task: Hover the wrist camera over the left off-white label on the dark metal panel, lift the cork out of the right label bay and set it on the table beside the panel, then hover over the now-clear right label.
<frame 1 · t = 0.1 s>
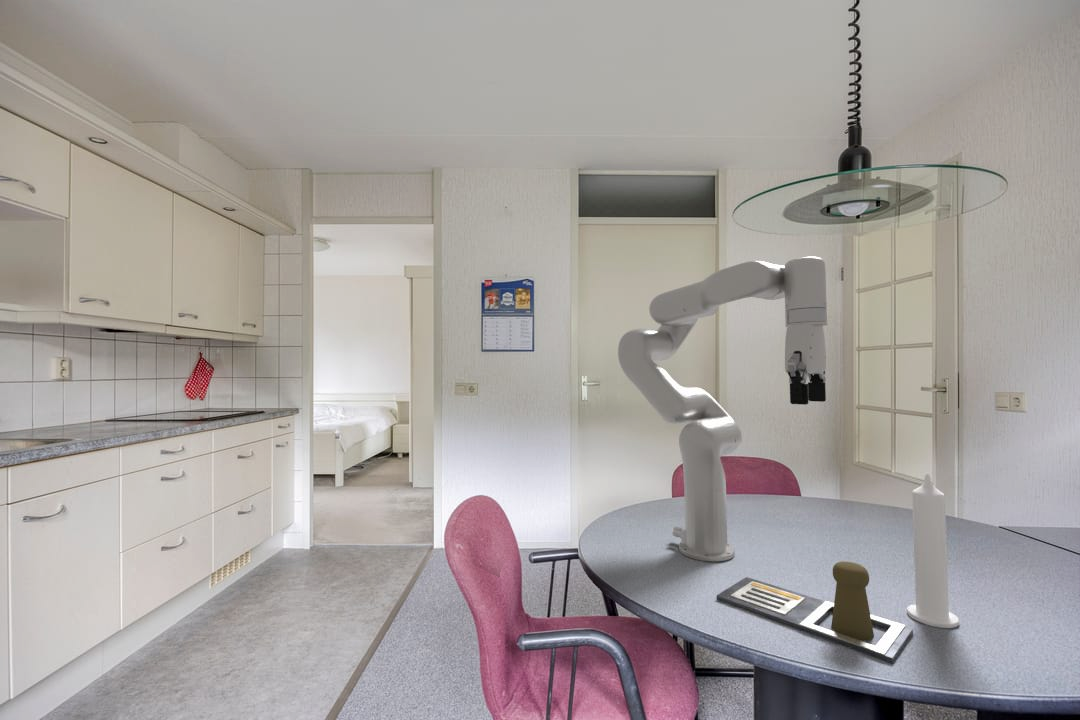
hand: (808, 402, 101), 37 cm above the table, tool pointing down, fingers open, 9 cm apart
cork: (852, 631, 82), resting in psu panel
candle: (932, 619, 86), on the table
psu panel: (807, 615, 87), on the table
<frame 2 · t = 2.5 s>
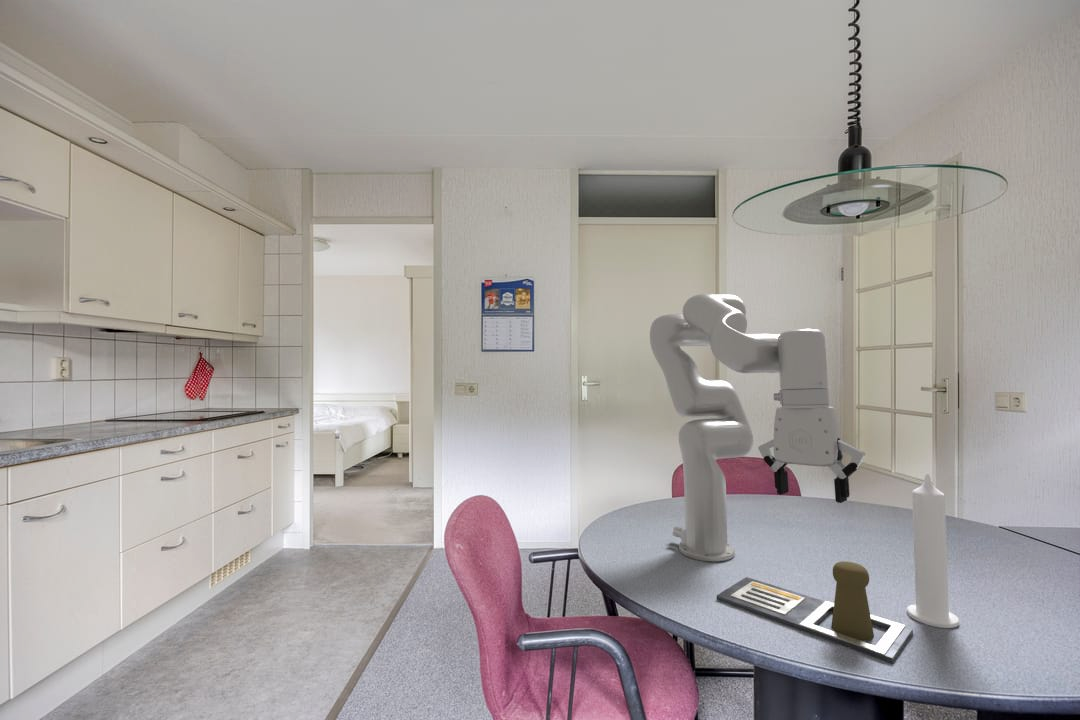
hand: (811, 497, 86), 21 cm above the table, tool pointing down, fingers open, 9 cm apart
nothing on the table moved.
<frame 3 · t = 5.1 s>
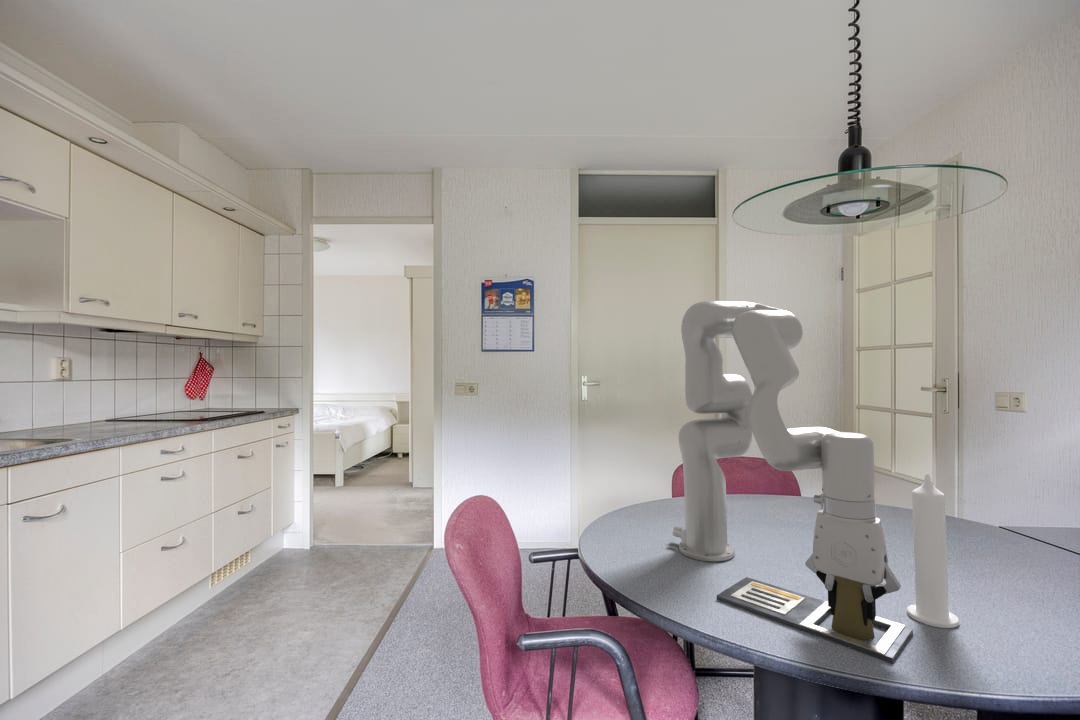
hand: (851, 616, 82), 2 cm above the table, tool pointing down, fingers closed on cork, 3 cm apart
cork: (852, 631, 82), resting in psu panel, touching gripper
everything else where it was.
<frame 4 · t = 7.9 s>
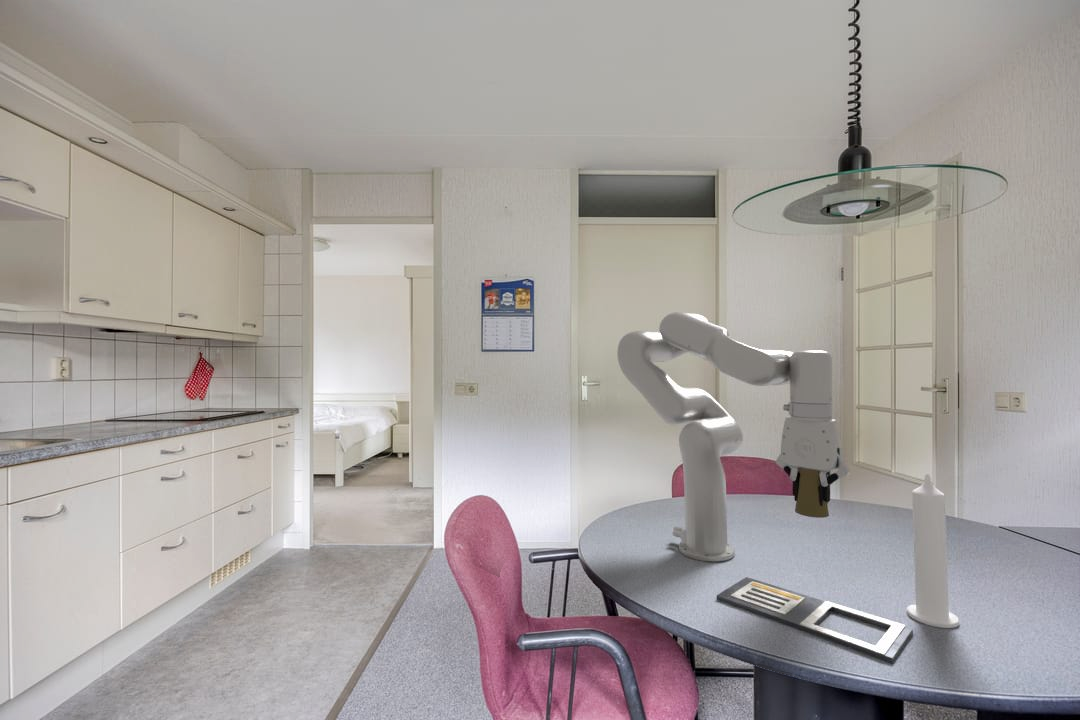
hand: (811, 501, 100), 17 cm above the table, tool pointing down, fingers closed on cork, 3 cm apart
cork: (811, 513, 100), point 14 cm above the table, touching gripper
everything else where it was.
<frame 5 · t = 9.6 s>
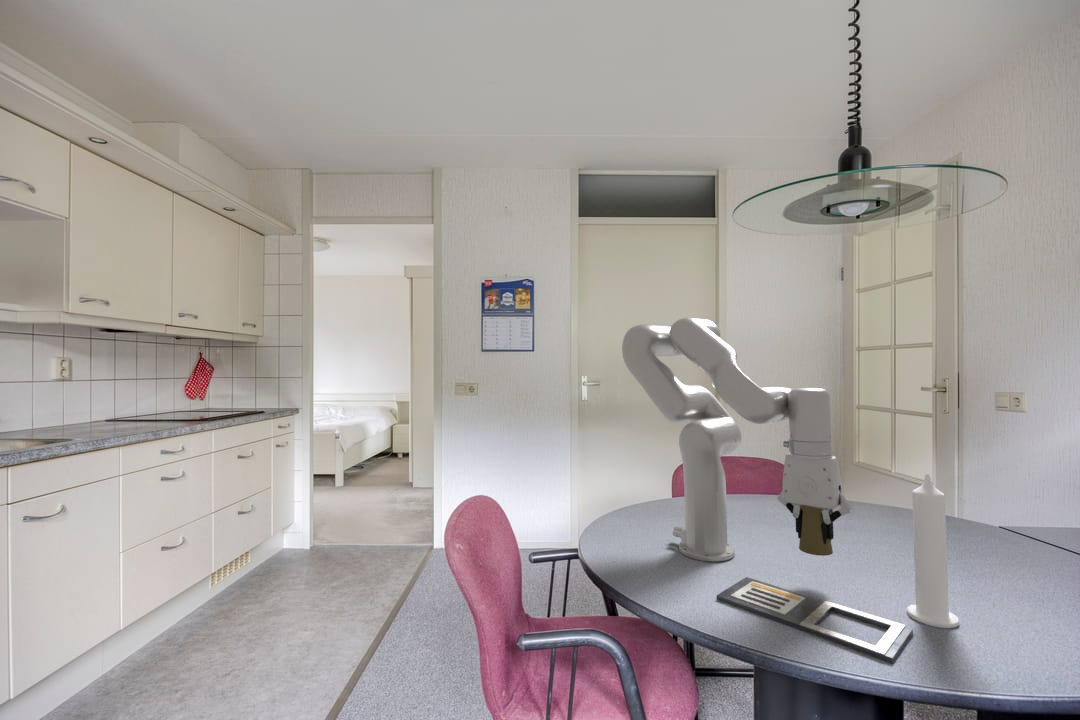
hand: (814, 538, 100), 9 cm above the table, tool pointing down, fingers closed on cork, 3 cm apart
cork: (815, 551, 100), point 7 cm above the table, touching gripper
everything else where it was.
when the fingers open (4 cm above the table, at t = 10.9 s): cork drops 1 cm, on the table.
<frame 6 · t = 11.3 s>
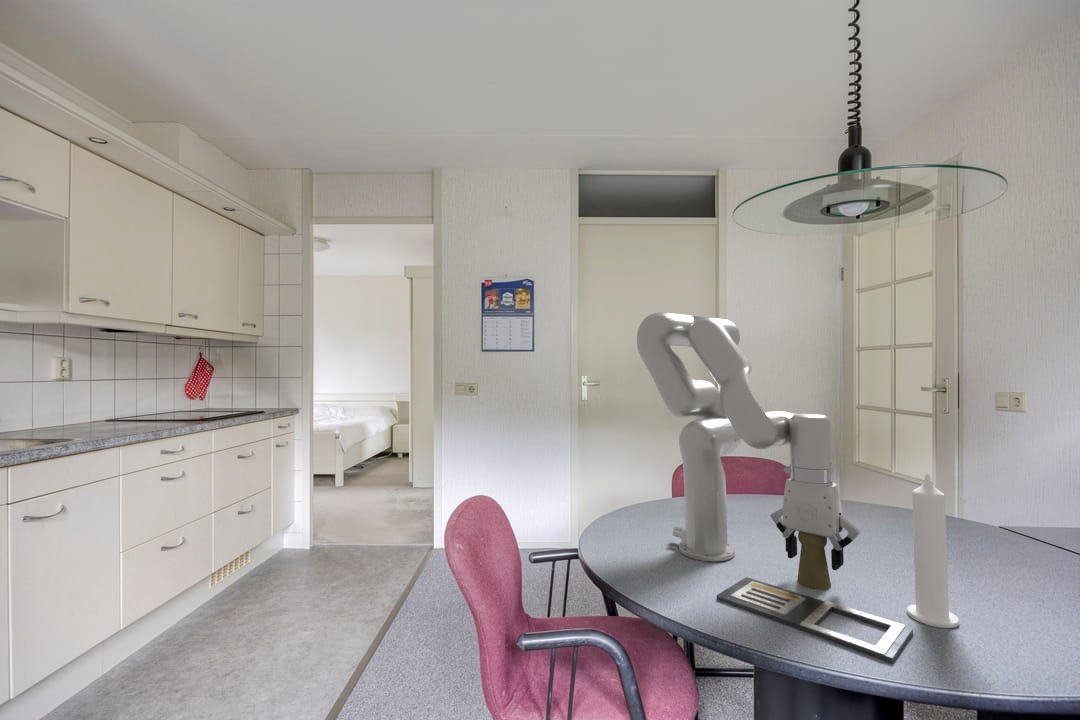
hand: (813, 561, 100), 4 cm above the table, tool pointing down, fingers open, 7 cm apart
cork: (813, 584, 100), on the table
everything else where it was.
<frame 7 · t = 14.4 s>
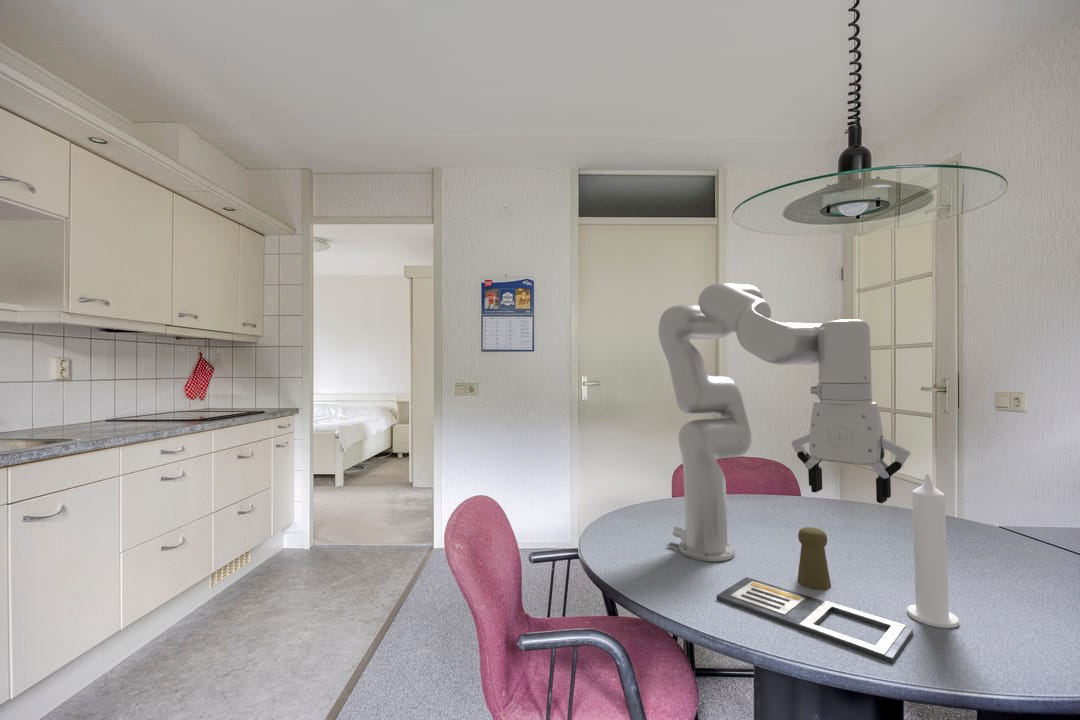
hand: (848, 496, 83), 22 cm above the table, tool pointing down, fingers open, 9 cm apart
nothing on the table moved.
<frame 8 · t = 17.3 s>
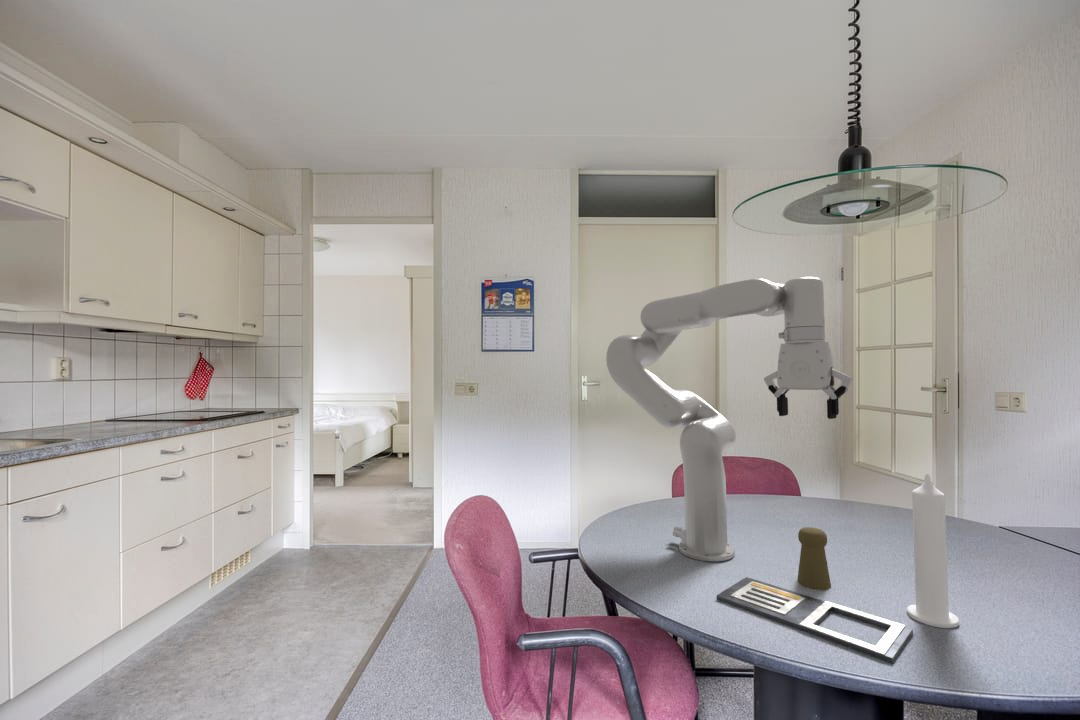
hand: (807, 416, 105), 33 cm above the table, tool pointing down, fingers open, 9 cm apart
nothing on the table moved.
at the end: cork inside the target area (0.2 cm from its centre), on the table; cork tilted 0°; the gripper is holding nothing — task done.
